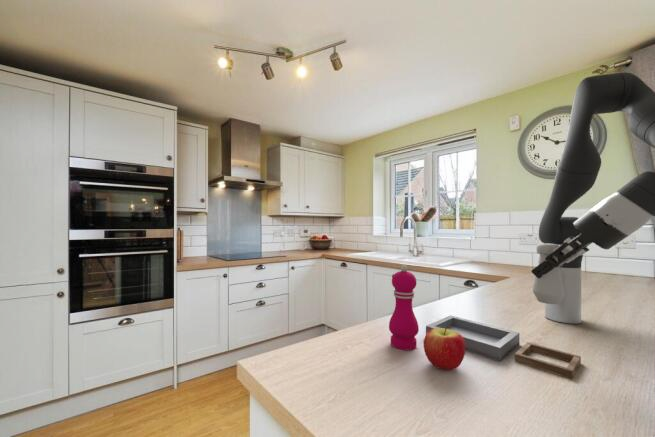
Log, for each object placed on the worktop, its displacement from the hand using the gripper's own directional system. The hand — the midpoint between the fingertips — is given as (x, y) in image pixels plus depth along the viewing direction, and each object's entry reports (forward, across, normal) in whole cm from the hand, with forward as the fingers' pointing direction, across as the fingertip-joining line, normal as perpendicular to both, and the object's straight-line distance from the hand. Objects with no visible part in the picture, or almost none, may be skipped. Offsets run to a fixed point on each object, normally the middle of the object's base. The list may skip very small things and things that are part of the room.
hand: (537, 273), depth 67 cm
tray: (+24, +1, +4) cm, 24 cm away
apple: (+22, +20, +5) cm, 31 cm away
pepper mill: (+31, +17, -3) cm, 35 cm away
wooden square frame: (+12, 0, +15) cm, 19 cm away
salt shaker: (+3, 0, +6) cm, 6 cm away
